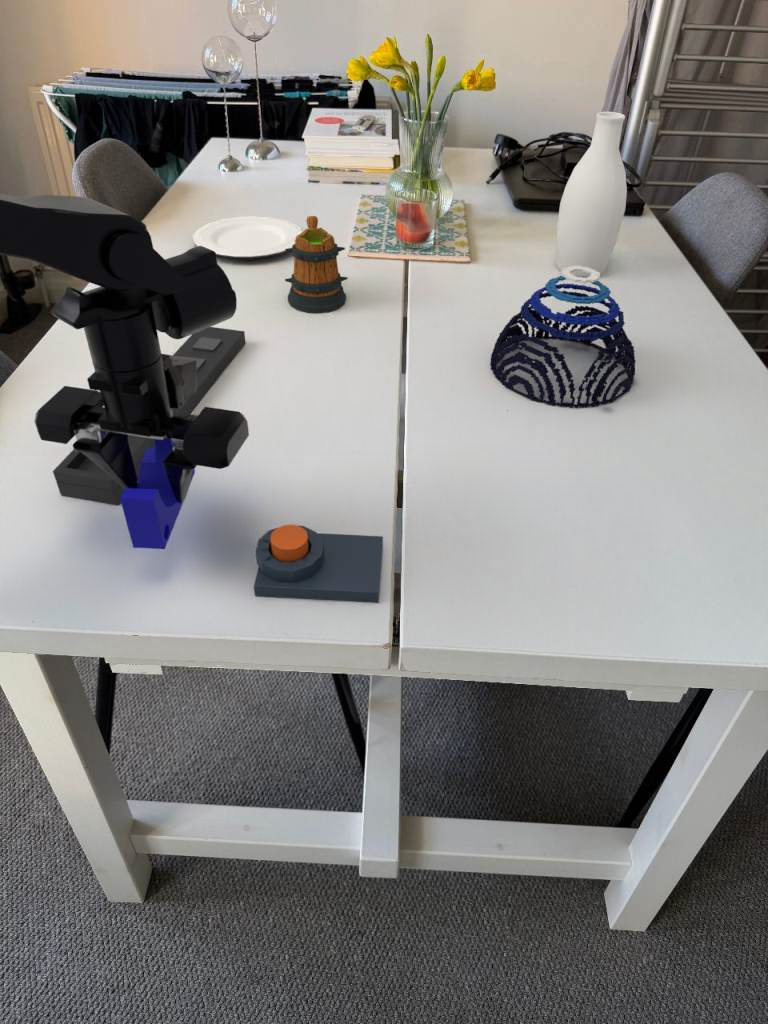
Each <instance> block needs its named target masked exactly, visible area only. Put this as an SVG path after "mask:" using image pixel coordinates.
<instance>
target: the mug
mask: <svg viewBox="0 0 768 1024" xmlns="http://www.w3.org/2000/svg"><path fill="white" fill-rule="evenodd" d="M318 224H319V219H318V216H315V215H309V216H307V217H306V226H307V228H306V229H304V230H302V231H303V232H302V233H301V234H299V235H298V236H297V237H296V240H295V241H294V242H295V244H294V245H292V248H288V249H285V251H286V252H288V253H290V254H292V256H293V257H294V260H293V273H292V274H291V277H289V278H285V279H284V282H287V283H291V286H290V289H289V292H288V294H287V302H288V304H289V306H290V307H291V308H292V309H295V310H296V311H299V312H303V313H307V314H324V313H325V314H326V313H331V312H334V311H337V310H340V309H341V308H342V307H344V306H345V305H346V301H347V293H346V292H345V291H344V287H343V285H342V284H343V282H344V281H347V280H348V276H341V273H340V272H339V266H338V258H337V257H338V256H339V255H340V254H339V252H342V251H344V250H346V248H345V247H343V246H342V247H341V246H338V243H336V242H335V236H333V235H332V234H330V233H328V230H325V229H324V228H323V227H318V226H319V225H318Z"/></svg>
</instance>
